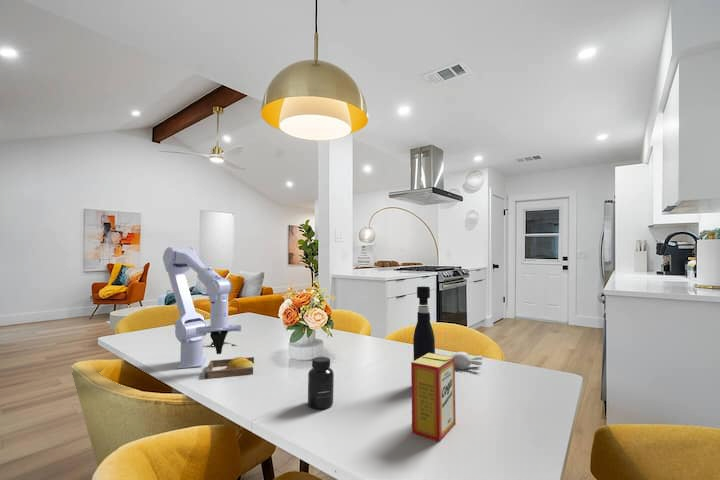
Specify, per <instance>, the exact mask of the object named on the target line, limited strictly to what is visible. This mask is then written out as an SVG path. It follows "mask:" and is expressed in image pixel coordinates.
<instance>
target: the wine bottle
mask: <svg viewBox="0 0 720 480" xmlns="http://www.w3.org/2000/svg"><path fill="white" fill-rule="evenodd" d="M430 294H431V289H430V286H424V285H423V286H417V287H416V298H418V299H419V300H418V301H419V303H418V304H419V305H418V308H417V309H418V311H417V317H416V318H417V322H416V325H415V329H414V333H413V339H412V340H413V342H412V343H413V345H412V346H413V361H415V360H417V359H418V358H420V357H422V356H424V355H426V354H427V353H434V354H436V339H435V334H434V329H433V327H432V323H431V313H430V310H429V309H430V307H429V306H428V305H429V304H428V303H429V302H428V301H429V300H428V299H430V298H431V295H430Z"/></svg>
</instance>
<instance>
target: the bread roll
mask: <svg viewBox="0 0 720 480" xmlns="http://www.w3.org/2000/svg"><path fill="white" fill-rule="evenodd" d="M246 358H247V357H241V356H238V357H234V358H231V359H232V360H231V361H230V362H229V363H228V365H227V366H226V370H227V369H238V368H248V367H253V368H254V363H252V362H251V361H249V360H248V359H246Z"/></svg>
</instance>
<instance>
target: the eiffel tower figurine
mask: <svg viewBox="0 0 720 480" xmlns="http://www.w3.org/2000/svg"><path fill="white" fill-rule="evenodd" d="M212 345H214V342H213V341H211V343H210V345H209V348H215V345H214V346H212ZM224 345H230V347H236V346H238V345H237V344H234V343H233V344H232V343H230V342H227V341H224V343H223V346H224Z"/></svg>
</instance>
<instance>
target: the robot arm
mask: <svg viewBox="0 0 720 480" xmlns="http://www.w3.org/2000/svg"><path fill="white" fill-rule="evenodd" d="M197 253H198V252H197V251H196V250H195V249H194V248H193V247H170V246H169V247H166V248H165V250H164V252H163V256H162V261H163V265H164V269H165V272H167V274H168V277H169V282H170V284H171V288H172V292H173V296H174V300H175V302H176V306H177V309H178V314H179V317H178V318H177V319H176V321H175V322H174V328H175V329H174V332H175V333H174V334H175V338H176V339H177V340H178V342H180V363H179V364H178V366H177V369H186V368H187V369H188V368H199V367H202V366H203V364H204V363H205V361H206V357H204V355H203V354H204V353H203V351H204V349H203V348H204V345H203V344H204V342H203V339H205V336H206V335H208V334H210V339H211V340H212V342H214V345H215V347H214V348H215V351H216V355H221V354H222V351H223V346H224V345H223V343H224V342H225V340H226V337H227V335H228V333H229V332H242V324H229V295H230V293H231V292H232V290H233V284H232V281H231V280H230V279H229V278H228V277H226V278H225V277H222V275H220V274H218V273H217V271H215V270H214V267H212V266H205V264H204V263H203V262H202V260H201V259H200V258H199V257H198V255H197ZM190 269H192V270H193V271H194V272H195V273H196V274H197V279H198V280H199V281H200V282H201V283H202V285H204V286H205V287H206V292H207V295H208V300H209V302H210V312H209V313H210V321H209V323H210V325H209V326H208V322H206V321H205V319H204V315H203V314H201V313H199V312H197V311H196V308H195V306H194V305H195V304H194V302H193V299H192V295H191V291H190V288H189V284H188V281H187V278H186V272H188V271H189V270H190Z"/></svg>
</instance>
